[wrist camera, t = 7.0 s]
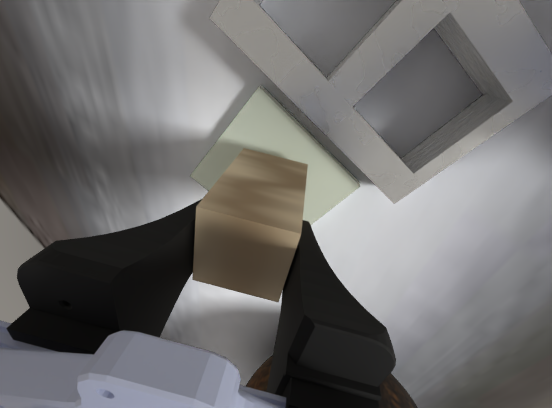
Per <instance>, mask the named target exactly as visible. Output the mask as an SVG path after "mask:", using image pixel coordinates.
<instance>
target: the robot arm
mask: <svg viewBox="0 0 552 408" xmlns="http://www.w3.org/2000/svg"><path fill="white" fill-rule="evenodd" d="M201 200H202V199H201ZM201 200H199V201H197V202H195V203H193V204H192V205H190V206H188V207H186V208H184V209H182V210H180V211H177V212H175V213H173V214H171V215H168V216H166V217H164V218H161V219H159V220H156V221H153V222H150V223H147V224H144V225H141V226H138V227H134V228H130V229H126V230H123V231H119V232H114V233H109V234H104V235H98V236H92V237H86V238H77V239H69V240H60V241H55V242H54V243H52V244H51V245H49V246H48V247H46V248H45V249H43V250H42V251H40V252H39V253H38V254H36V255H35V256H33V257H32V258H30V259H29V260H28V261H26V262H25V263H23V264H22V265H21V266H20V267H19V268H18V273H17V279H18V282H19V285H20V287H21V289H22V292H23V294H24V296H25V298H26V300H27V302H28V304H29V307H30V308H29V309H28V310H27V311H26V312H25V313H23V314H22V315H21V316H20V317H19V318H18V319H17V320H15V321H14V322H13V323H7V322H4V321H0V408H379V404H378V401H380V400H381V392H380V386H379V385H380V384H381V383H382V382H383V381H384V379H385V378H386V377H387V376H388V375H389V374H390V373H391V372H392V370H393V369H394V367H395V363H396V358H395V354H394V350H393V346H392V343H391V340H390V337H389V334H388V332H387V329H386V327H385V326H384V325H382V324H381V323H380V322H379V321H378V320H377V319H376V318H375V317H373V316H372V315H371V314H370V313H369V312H368V311H367V310H366V309H365V308H364V307H363V306H362V305H361V304H360V303H359V302H358V301H357V300H356V299H355V298H354V297H353V296H352V295H351V294H350V293H349V291H348V290H347V289H346V288H345V287H344V285H343V284H342V283H341V282H340V280H339V279H338V278H337V276H336V275H335V273H334V272H333V270H332V269H331V267H330V266H329V264H328V262H327V261H326V259H325V257H324V255H323V253H322V251H321V249H320V247H319V245H318V243H317V241H316V238H315V236H314V233H313V231H312V228H311V225H310V223H309V221H305V220H303V221H302V231H301V236H300V239H299V242H298V245H297V248H296V251H295V254H294V257H293V260H292V263H291V266H290V269H289V272H288V275H287V278H286V281H285V284H284V287H283V292H282V305H281V313H280V319H279V325H278V331H277V337H276V342H275V348H274V353H273V359H272V364H271V369H270V375H269V380H268V385H267V390H266V392H264V391H260V390H257V389H253V388H249V387H245V386H242V385H240V380H241V379H240V375H239V370H238V369H237V367H236V366H235V365H234V364H233V363H232V362H231V361H229V360H228V359H227V358H226V357H223V356H221V355H219V354H216V353H214V352H211V351H207V350H204V349H200V348H196V347H193V346H189V345H185V344H181V343H178V342H174V341H170V340H166V339H163V338H159V337H160V335H161V333H162V331H163V329H164V326H165V324H166V322H167V320H168V318H169V316H170V314H171V312H172V310H173V307H174V305H175V303H176V301H177V299H178V297H179V295H180V293H181V291H182V289H183V287H184V286H185V284H186V282H187V280H188V279H189V277H190V276H191V274H192V272H193V261H194V241H195V221H196V206H197V205H198V204H199V203H200V201H201Z"/></svg>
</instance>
